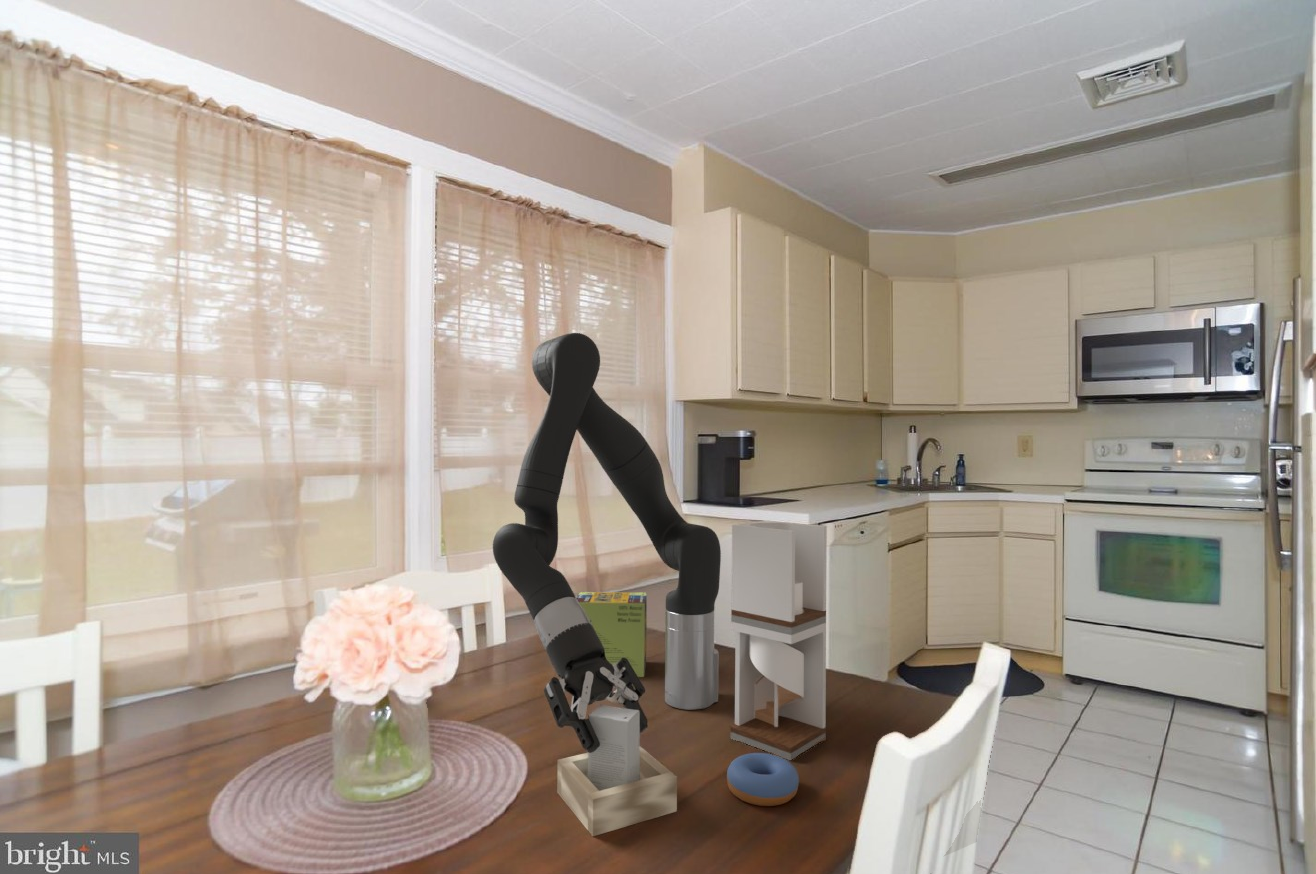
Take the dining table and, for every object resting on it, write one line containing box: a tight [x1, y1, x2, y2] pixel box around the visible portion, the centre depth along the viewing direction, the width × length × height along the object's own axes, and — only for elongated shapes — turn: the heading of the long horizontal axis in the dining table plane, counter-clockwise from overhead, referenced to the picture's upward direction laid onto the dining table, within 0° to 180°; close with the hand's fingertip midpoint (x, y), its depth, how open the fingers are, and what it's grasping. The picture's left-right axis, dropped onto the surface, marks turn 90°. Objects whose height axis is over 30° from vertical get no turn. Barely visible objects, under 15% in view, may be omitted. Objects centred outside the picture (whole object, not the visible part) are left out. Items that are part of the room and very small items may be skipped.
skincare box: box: [587, 704, 641, 791], centre depth 91 cm, size 6×4×12 cm
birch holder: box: [556, 746, 678, 837], centre depth 91 cm, size 12×12×4 cm
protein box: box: [576, 591, 648, 678], centre depth 146 cm, size 10×15×16 cm
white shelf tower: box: [730, 520, 828, 761], centre depth 111 cm, size 11×11×35 cm
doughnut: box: [726, 752, 800, 807], centre depth 94 cm, size 10×10×5 cm
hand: (619, 739), depth 91 cm, fingers open, 8 cm apart
